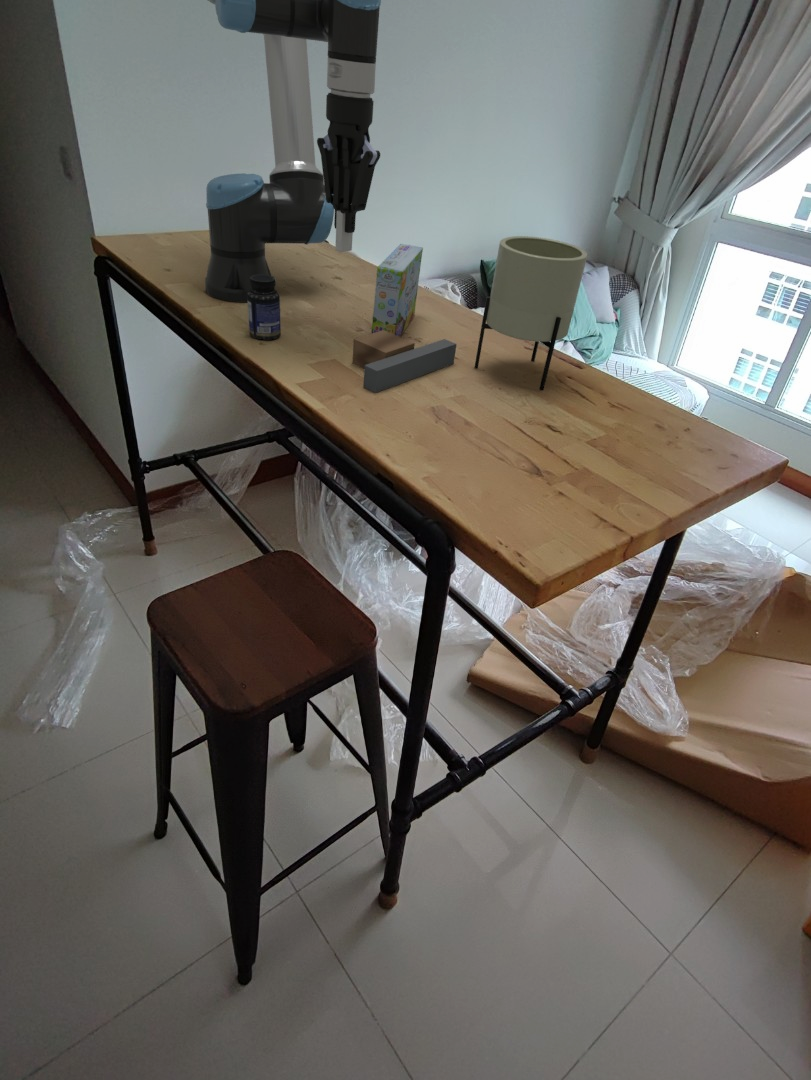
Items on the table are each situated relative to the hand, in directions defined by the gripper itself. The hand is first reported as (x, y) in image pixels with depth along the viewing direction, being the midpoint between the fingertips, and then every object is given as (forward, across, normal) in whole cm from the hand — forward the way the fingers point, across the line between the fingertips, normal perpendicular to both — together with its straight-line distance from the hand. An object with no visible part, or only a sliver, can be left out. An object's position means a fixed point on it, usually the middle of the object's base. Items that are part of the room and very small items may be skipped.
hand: (343, 250), depth 117 cm
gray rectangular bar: (+17, +18, +1) cm, 25 cm away
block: (+18, +12, -1) cm, 22 cm away
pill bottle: (+18, -12, -9) cm, 23 cm away
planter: (+18, +30, +19) cm, 40 cm away
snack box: (+18, 0, +16) cm, 24 cm away
